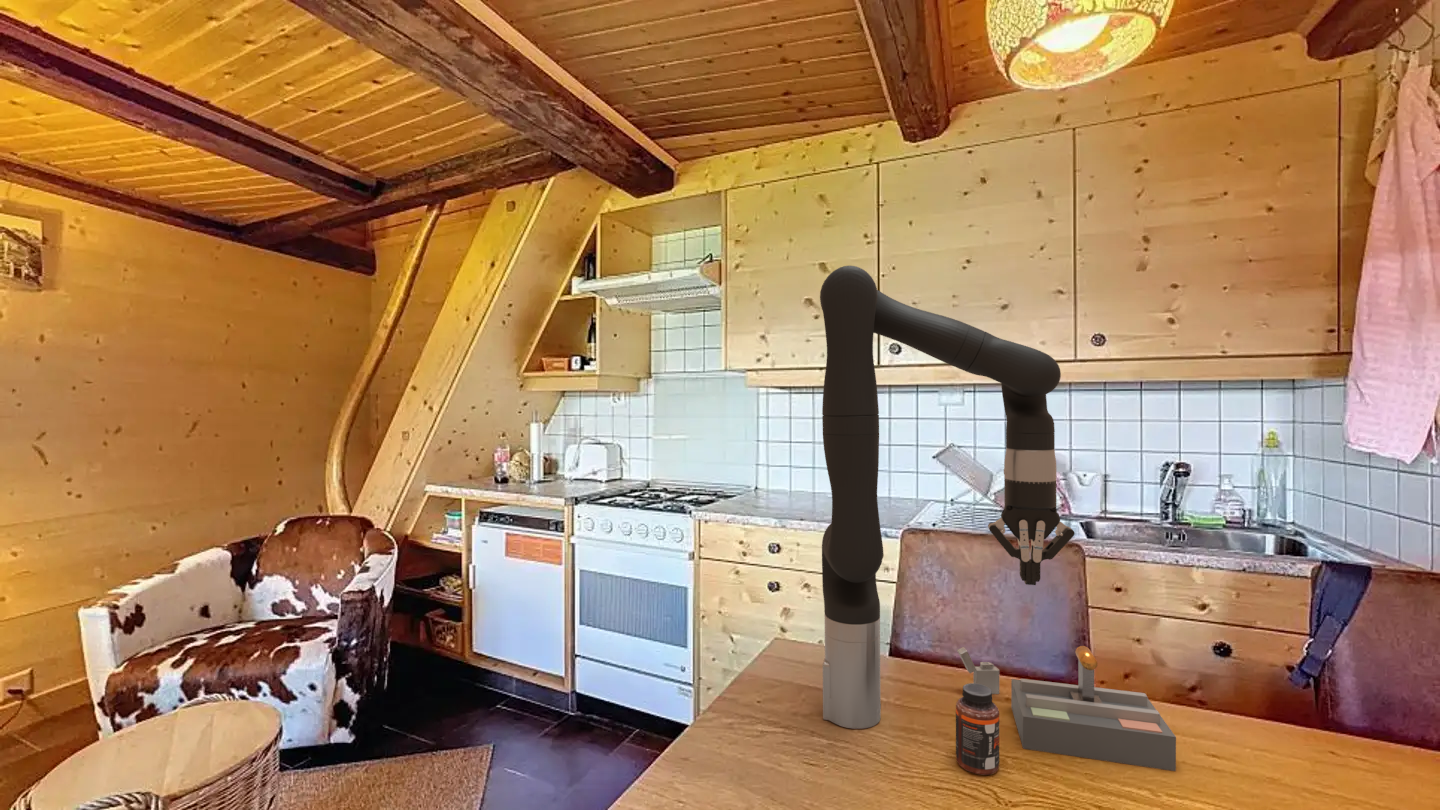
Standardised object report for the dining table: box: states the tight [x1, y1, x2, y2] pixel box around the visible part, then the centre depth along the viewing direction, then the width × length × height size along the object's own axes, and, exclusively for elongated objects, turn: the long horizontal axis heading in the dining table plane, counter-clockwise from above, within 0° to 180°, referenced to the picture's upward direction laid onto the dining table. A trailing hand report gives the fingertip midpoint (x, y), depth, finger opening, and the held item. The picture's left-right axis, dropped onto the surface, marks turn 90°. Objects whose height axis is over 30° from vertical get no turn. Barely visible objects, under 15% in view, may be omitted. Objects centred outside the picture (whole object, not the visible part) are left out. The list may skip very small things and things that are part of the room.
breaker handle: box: [1069, 645, 1103, 704], centre depth 99 cm, size 4×4×8 cm
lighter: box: [956, 646, 1000, 695], centre depth 115 cm, size 7×2×8 cm, turn 89°
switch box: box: [1010, 678, 1177, 772], centre depth 99 cm, size 20×13×7 cm, turn 72°
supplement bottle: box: [955, 682, 1000, 776], centre depth 92 cm, size 6×6×11 cm
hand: (1030, 583), depth 101 cm, fingers closed
